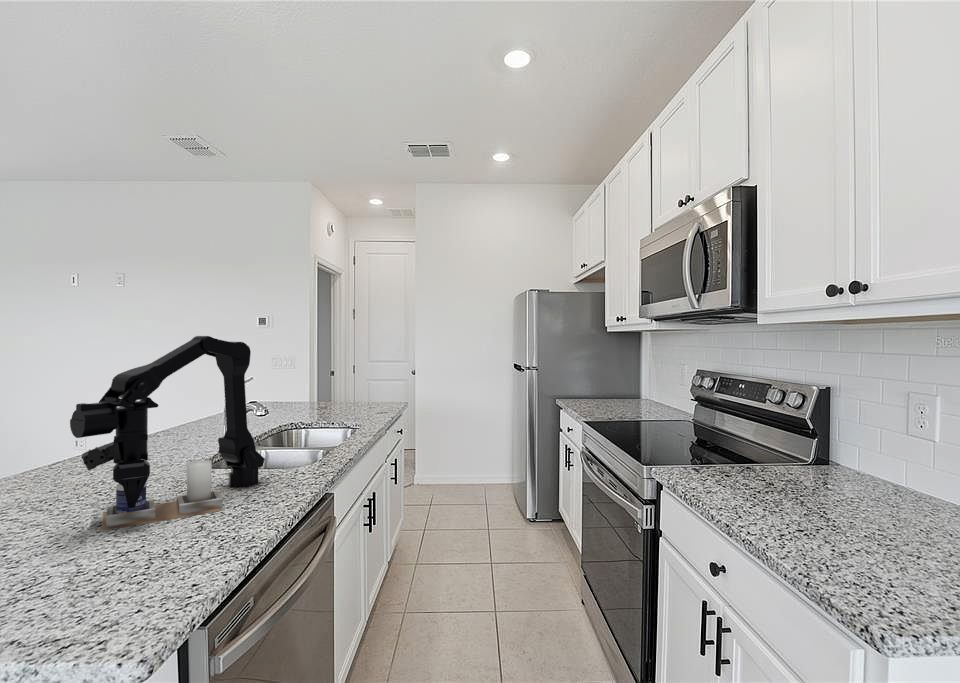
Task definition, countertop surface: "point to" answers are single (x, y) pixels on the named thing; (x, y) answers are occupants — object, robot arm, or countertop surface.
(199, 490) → the pin
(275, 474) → the countertop surface
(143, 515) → the board
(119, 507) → the pill bottle
